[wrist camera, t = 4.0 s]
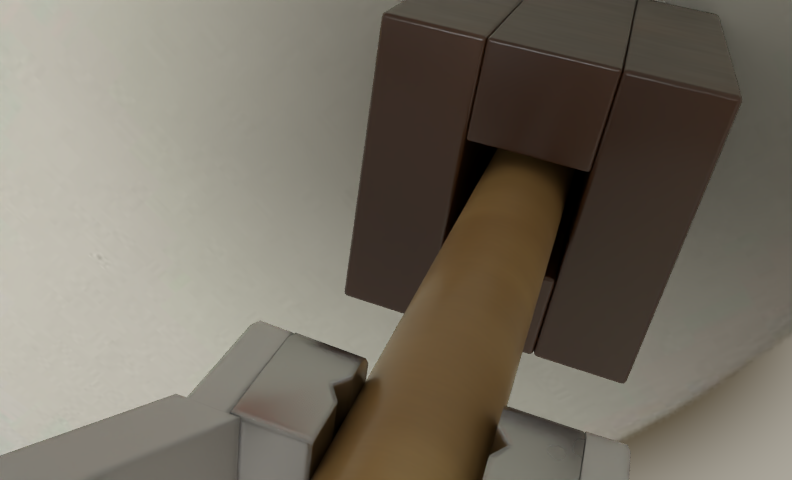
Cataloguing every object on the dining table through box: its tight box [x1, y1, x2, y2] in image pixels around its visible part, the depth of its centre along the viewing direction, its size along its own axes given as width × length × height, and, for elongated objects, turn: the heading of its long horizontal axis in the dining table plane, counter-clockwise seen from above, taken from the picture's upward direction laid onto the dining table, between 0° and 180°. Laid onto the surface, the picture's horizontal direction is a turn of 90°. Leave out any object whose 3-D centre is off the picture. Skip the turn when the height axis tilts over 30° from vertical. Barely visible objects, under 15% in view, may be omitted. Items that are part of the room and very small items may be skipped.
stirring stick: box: [311, 148, 575, 480], centre depth 13 cm, size 2×2×18 cm
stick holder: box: [345, 0, 742, 383], centre depth 17 cm, size 6×6×7 cm
